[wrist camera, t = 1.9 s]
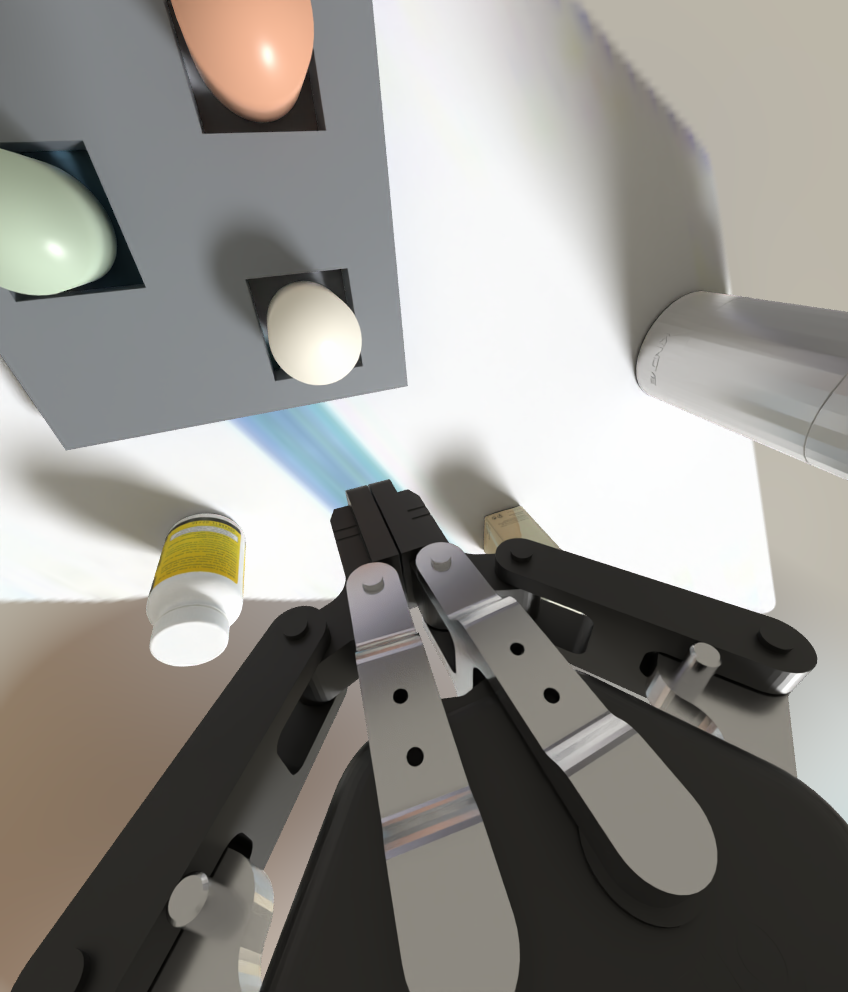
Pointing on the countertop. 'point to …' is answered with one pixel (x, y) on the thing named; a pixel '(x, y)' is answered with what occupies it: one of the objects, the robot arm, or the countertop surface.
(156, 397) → the panel
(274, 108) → the terracotta button
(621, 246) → the countertop surface
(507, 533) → the box
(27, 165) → the sage button
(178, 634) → the supplement bottle
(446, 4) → the countertop surface
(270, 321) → the cream piece
